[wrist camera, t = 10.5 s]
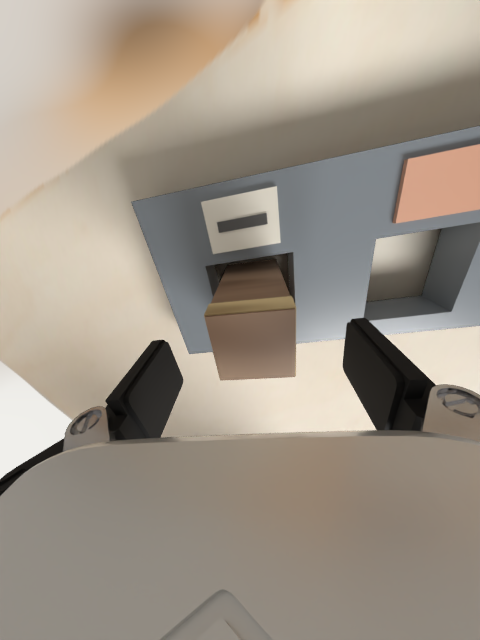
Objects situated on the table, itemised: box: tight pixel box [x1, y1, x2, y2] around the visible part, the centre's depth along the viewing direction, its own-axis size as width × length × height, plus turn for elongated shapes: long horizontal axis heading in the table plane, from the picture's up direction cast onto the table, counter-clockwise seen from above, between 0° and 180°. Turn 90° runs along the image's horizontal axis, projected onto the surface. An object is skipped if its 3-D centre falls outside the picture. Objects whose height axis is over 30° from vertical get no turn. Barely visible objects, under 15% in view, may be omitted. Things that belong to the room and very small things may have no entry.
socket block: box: [131, 126, 480, 354], centre depth 14 cm, size 12×24×3 cm, turn 100°
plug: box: [204, 259, 296, 380], centre depth 14 cm, size 4×4×9 cm
